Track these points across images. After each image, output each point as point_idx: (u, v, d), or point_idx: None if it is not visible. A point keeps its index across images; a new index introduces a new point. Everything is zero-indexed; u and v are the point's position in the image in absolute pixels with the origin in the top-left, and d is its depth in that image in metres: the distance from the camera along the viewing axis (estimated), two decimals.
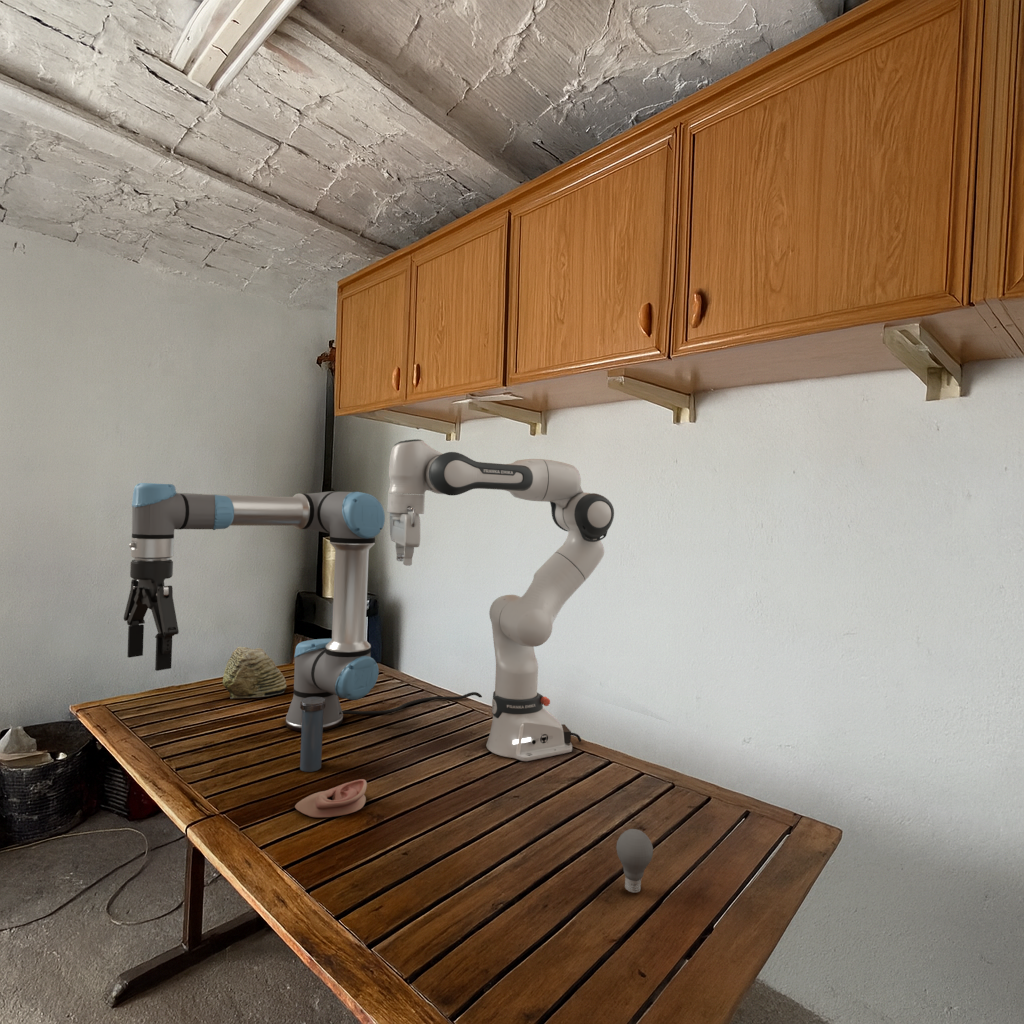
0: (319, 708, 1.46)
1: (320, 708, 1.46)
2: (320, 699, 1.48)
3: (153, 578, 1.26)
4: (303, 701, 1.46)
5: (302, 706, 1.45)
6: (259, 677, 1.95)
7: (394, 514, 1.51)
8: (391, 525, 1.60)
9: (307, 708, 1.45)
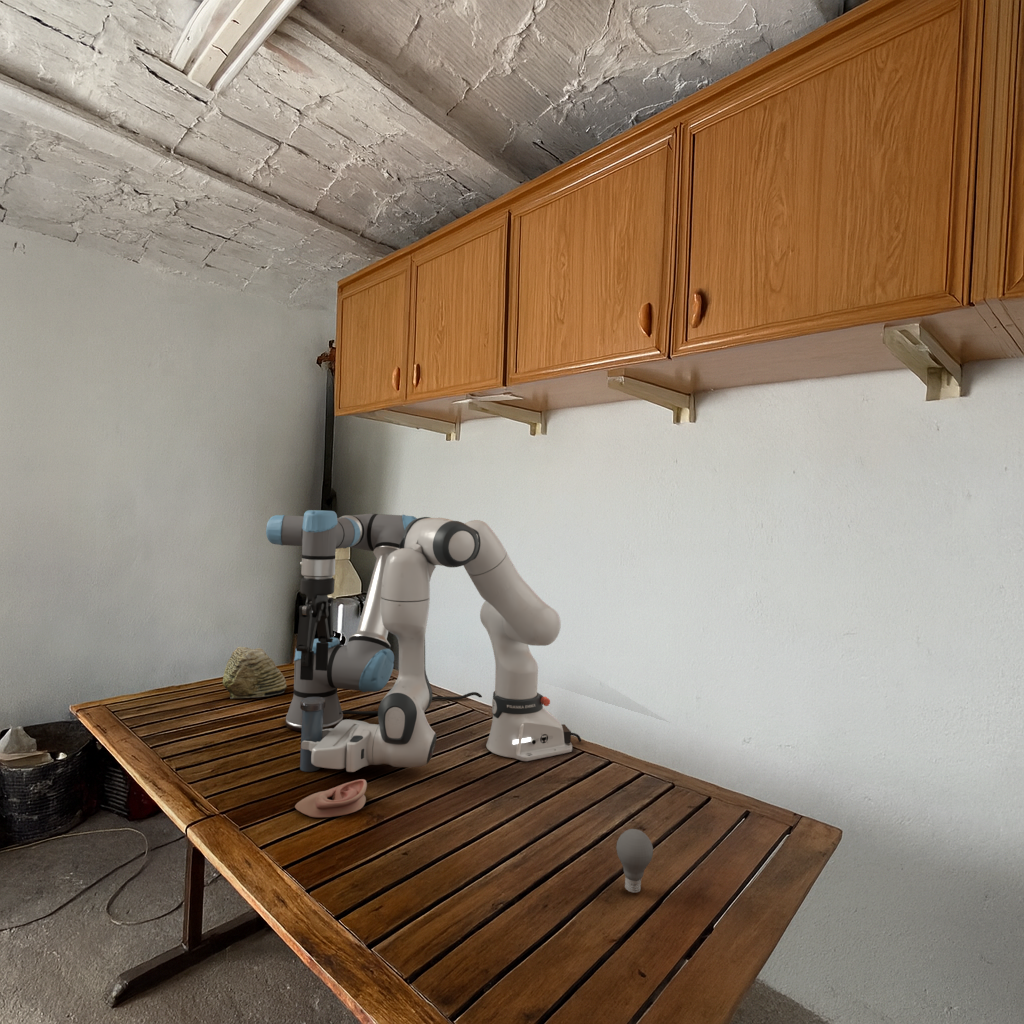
0: (319, 708, 1.46)
1: (320, 708, 1.46)
2: (320, 699, 1.48)
3: (306, 593, 1.44)
4: (303, 701, 1.46)
5: (302, 706, 1.45)
6: (259, 677, 1.95)
7: None
8: None
9: (307, 708, 1.45)
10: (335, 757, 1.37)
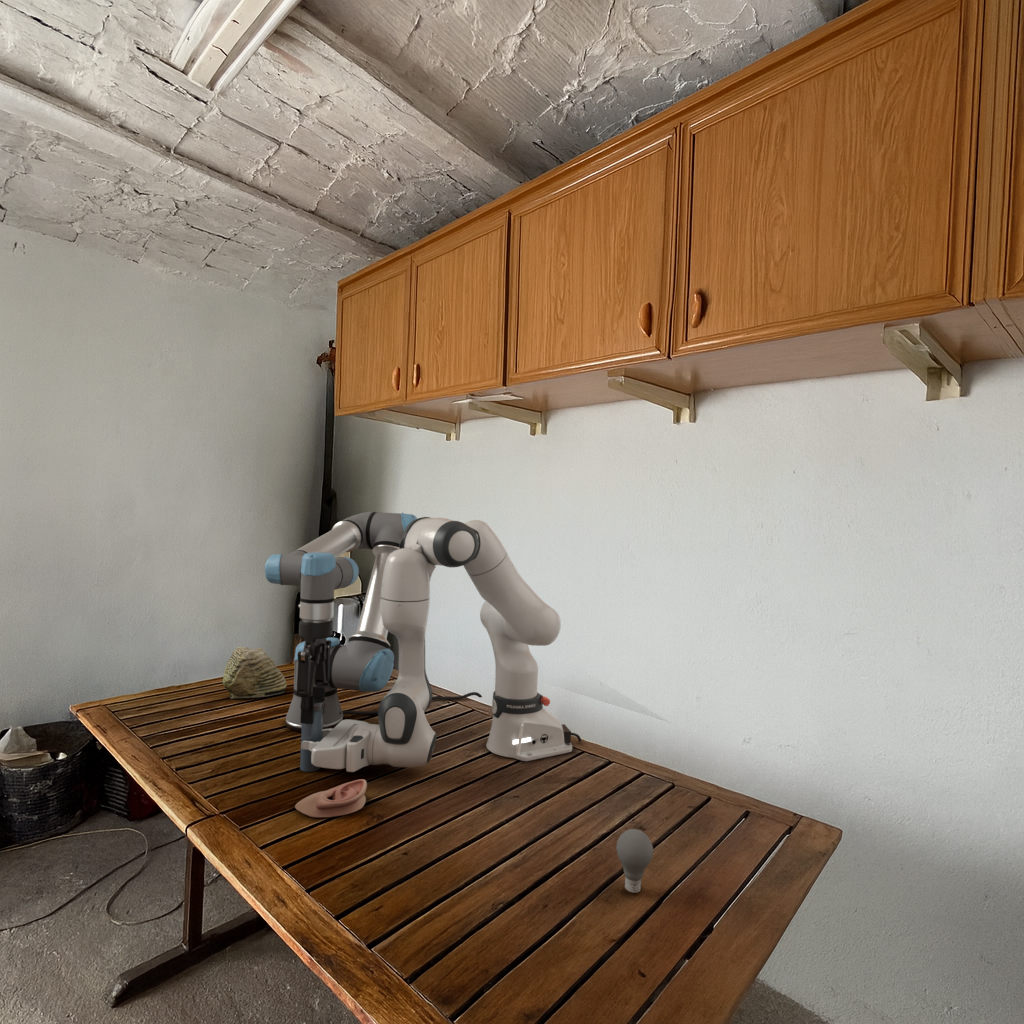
0: (319, 708, 1.46)
1: (320, 708, 1.46)
2: (320, 699, 1.48)
3: (304, 637, 1.44)
4: None
5: None
6: (259, 677, 1.95)
7: None
8: None
9: None
10: (335, 758, 1.37)
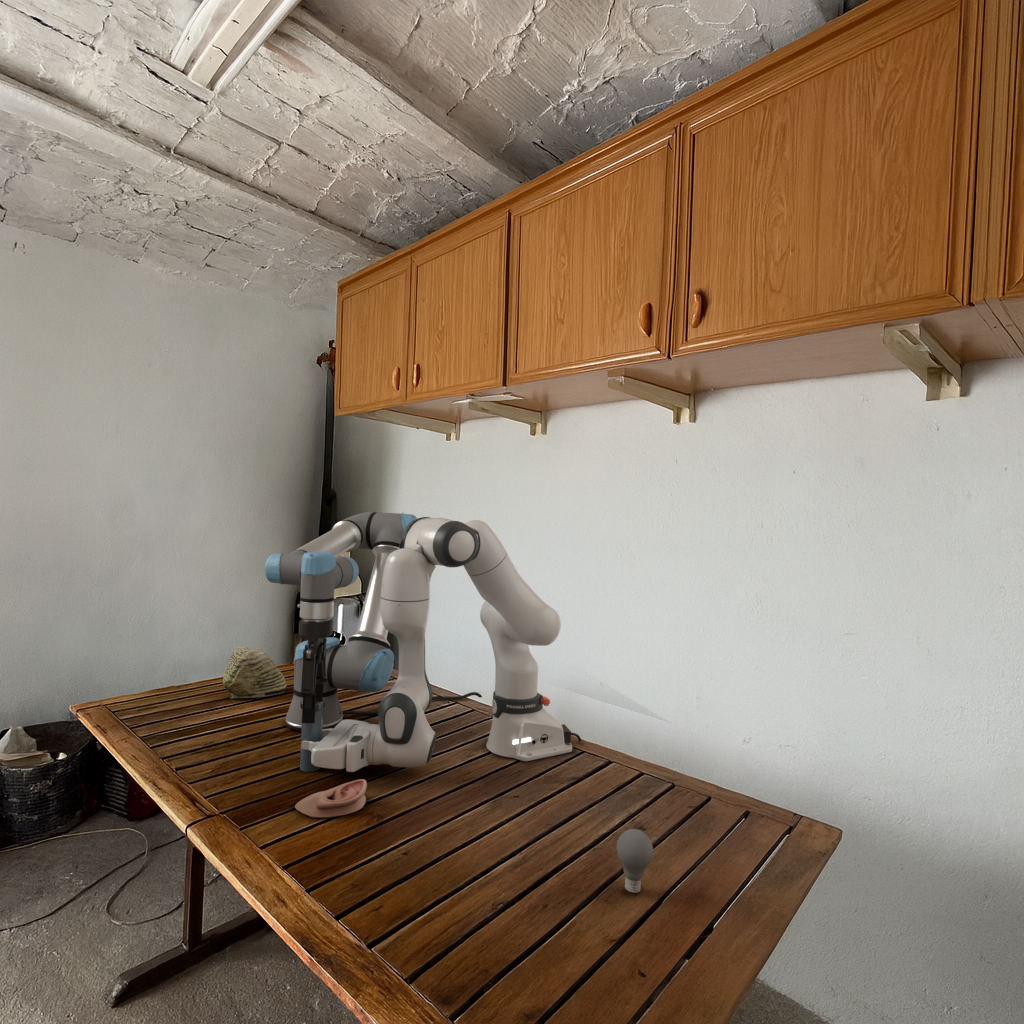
0: None
1: None
2: None
3: (307, 637, 1.43)
4: None
5: (316, 706, 1.45)
6: (259, 677, 1.95)
7: None
8: None
9: (322, 706, 1.46)
10: (335, 758, 1.37)
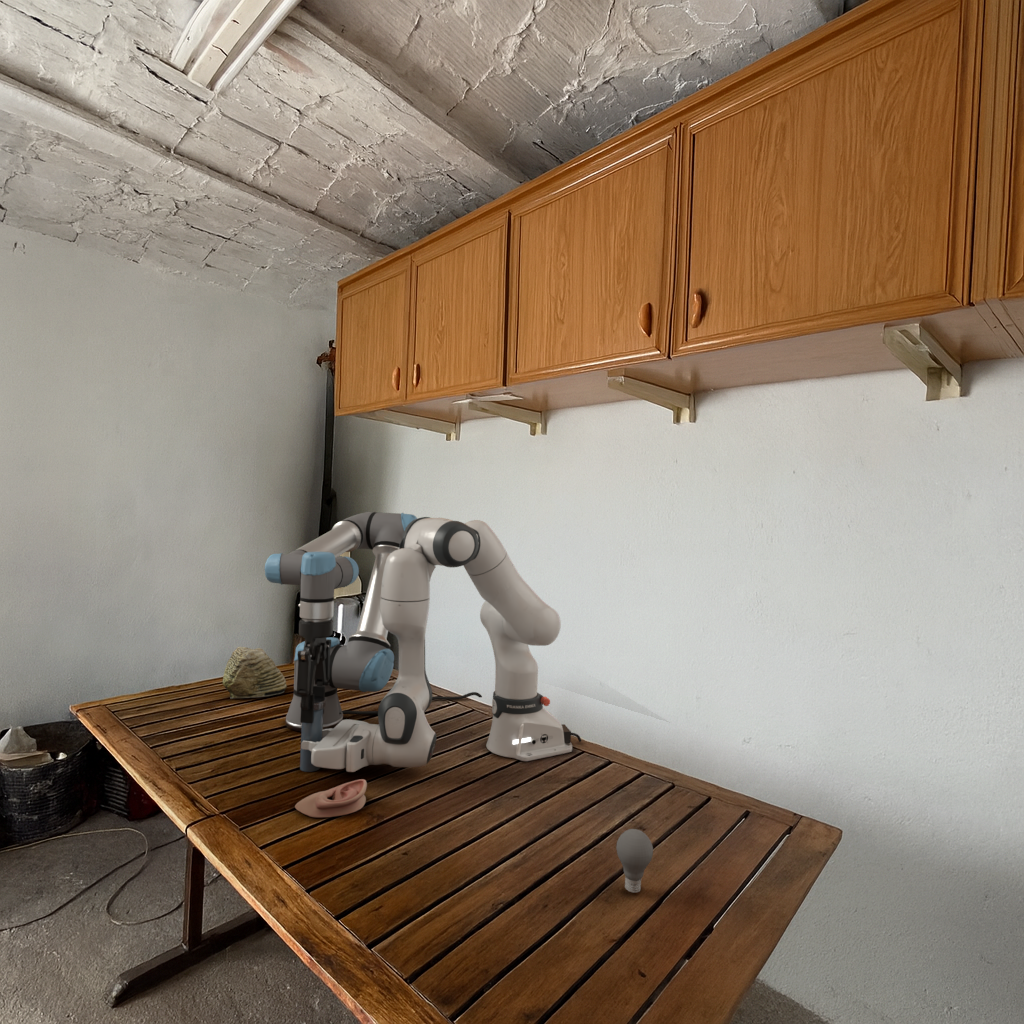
0: None
1: None
2: None
3: (304, 636, 1.44)
4: None
5: (316, 706, 1.45)
6: (259, 677, 1.95)
7: None
8: None
9: (322, 706, 1.46)
10: (335, 758, 1.37)
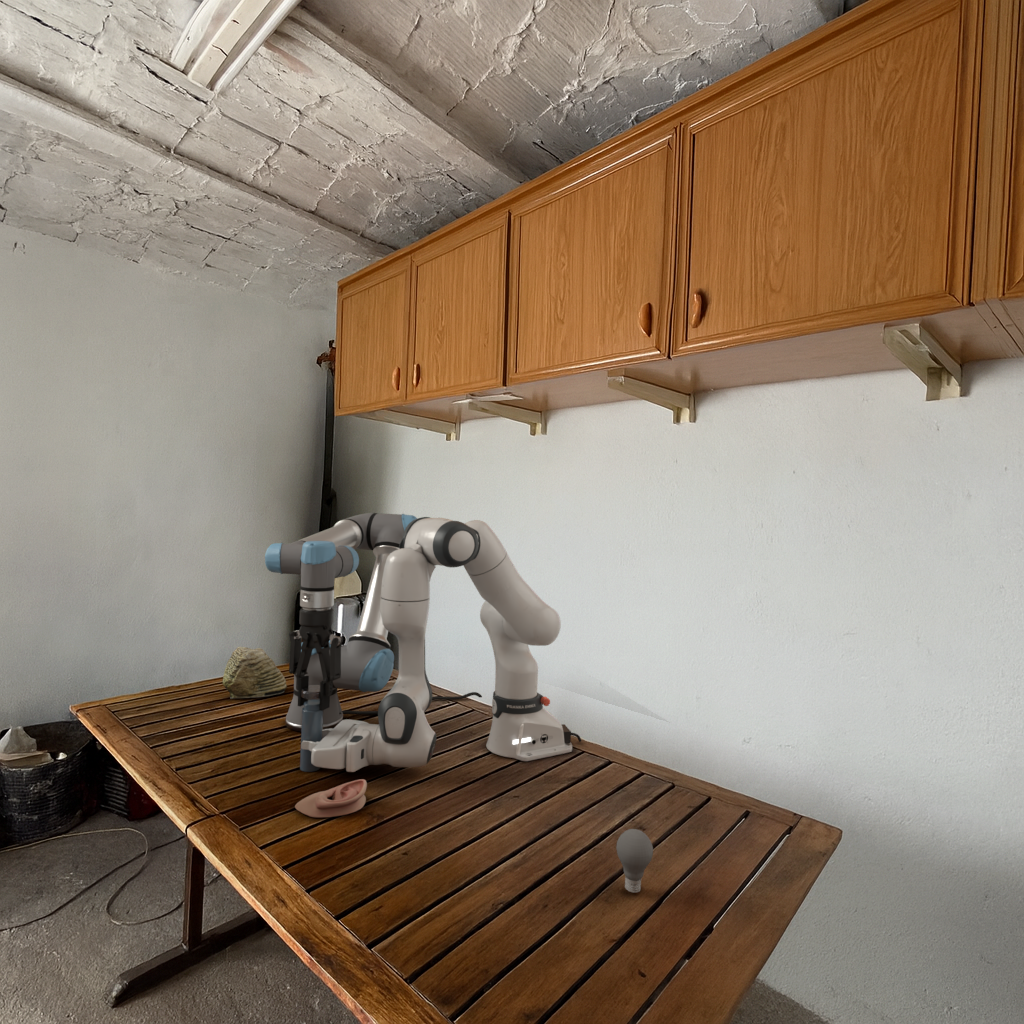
0: None
1: None
2: (307, 688, 1.48)
3: (326, 625, 1.45)
4: None
5: None
6: (259, 677, 1.95)
7: None
8: None
9: None
10: (335, 758, 1.37)
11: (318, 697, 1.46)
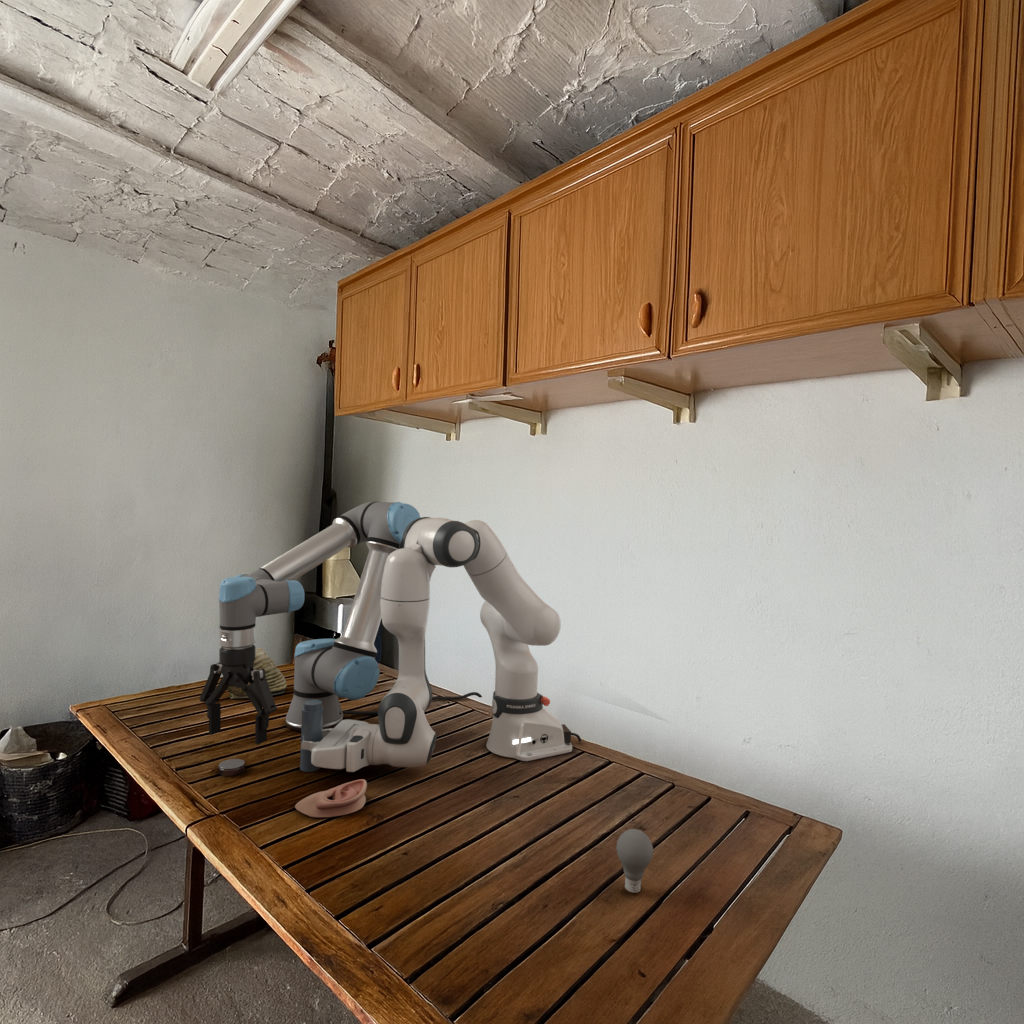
0: None
1: None
2: (224, 763, 1.44)
3: (246, 664, 1.42)
4: (241, 764, 1.44)
5: (244, 766, 1.45)
6: None
7: None
8: None
9: None
10: (335, 758, 1.37)
11: (235, 773, 1.42)
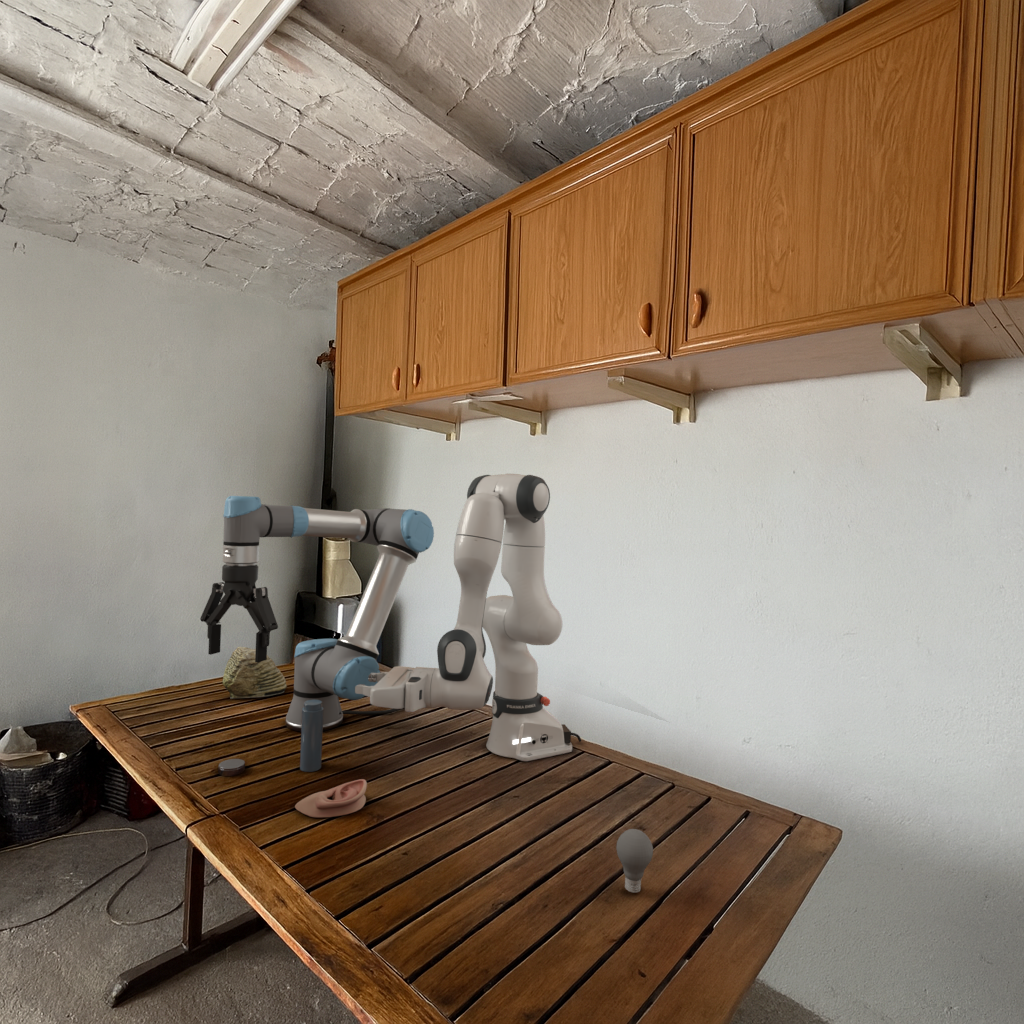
0: None
1: None
2: (224, 763, 1.44)
3: (248, 581, 1.41)
4: (241, 764, 1.44)
5: (244, 766, 1.45)
6: (259, 677, 1.95)
7: None
8: None
9: None
10: (395, 697, 1.36)
11: (235, 773, 1.42)
